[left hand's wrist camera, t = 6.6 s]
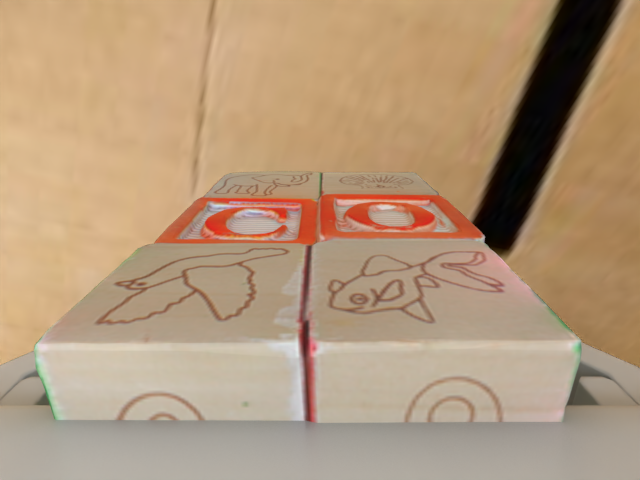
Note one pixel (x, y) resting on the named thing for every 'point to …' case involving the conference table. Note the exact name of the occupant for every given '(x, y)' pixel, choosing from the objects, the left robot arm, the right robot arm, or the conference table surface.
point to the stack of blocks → (312, 315)
